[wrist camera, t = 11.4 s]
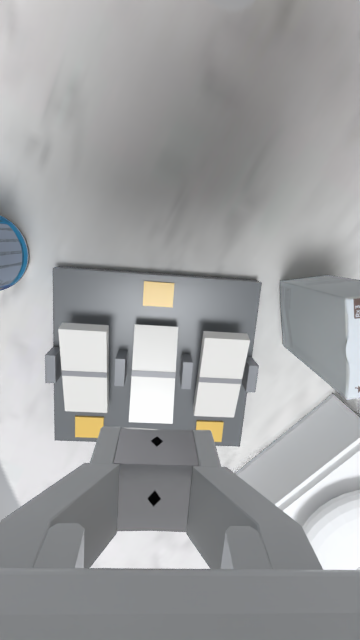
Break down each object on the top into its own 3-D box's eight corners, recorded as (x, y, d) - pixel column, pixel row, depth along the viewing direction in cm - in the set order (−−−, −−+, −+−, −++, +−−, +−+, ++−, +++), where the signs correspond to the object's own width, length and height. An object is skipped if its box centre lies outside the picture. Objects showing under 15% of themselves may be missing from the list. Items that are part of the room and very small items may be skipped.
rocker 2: (135, 324, 35) (134, 324, 34) (177, 326, 36) (178, 326, 34) (129, 418, 35) (128, 422, 34) (171, 419, 36) (172, 423, 34)
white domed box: (331, 392, 42) (431, 480, 27) (407, 478, 46) (533, 599, 30) (227, 477, 44) (263, 606, 29) (308, 553, 48) (378, 703, 32)
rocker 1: (62, 322, 33) (58, 329, 31) (108, 325, 33) (106, 332, 32) (68, 402, 37) (64, 411, 36) (109, 404, 37) (107, 413, 36)
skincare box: (328, 340, 40) (423, 396, 26) (279, 346, 40) (346, 406, 25) (327, 270, 38) (430, 288, 24) (276, 276, 38) (347, 299, 23)
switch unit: (58, 266, 36) (43, 270, 31) (256, 280, 38) (269, 286, 33) (59, 430, 41) (46, 455, 36) (236, 436, 42) (245, 461, 38)
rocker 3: (203, 330, 34) (205, 338, 32) (247, 333, 34) (250, 340, 33) (193, 407, 38) (194, 416, 37) (231, 408, 38) (234, 418, 37)
